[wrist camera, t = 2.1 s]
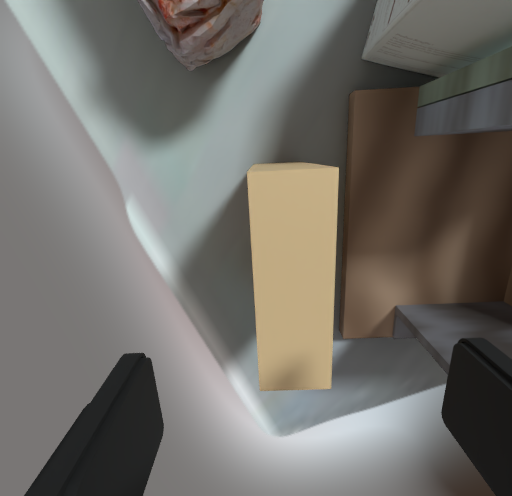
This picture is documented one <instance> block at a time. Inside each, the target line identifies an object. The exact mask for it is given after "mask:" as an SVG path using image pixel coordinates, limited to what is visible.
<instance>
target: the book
mask: <svg viewBox="0 0 512 496" xmlns="http://www.w3.org/2000/svg"><path fill="white" fill-rule="evenodd" d="M338 180H339V167H333V166H326V165H319V164H312V163H305V162H285V163H267V164H253V166H252V167H251V168H250V169H249V170H248V172H247V181H248V198H249V215H250V232H251V249H252V266H253V283H254V300H255V317H256V334H257V350H258V367H259V384H260V391H275V390H309V389H331V376H332V348H333V320H334V292H335V264H336V236H337V208H338Z"/></svg>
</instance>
